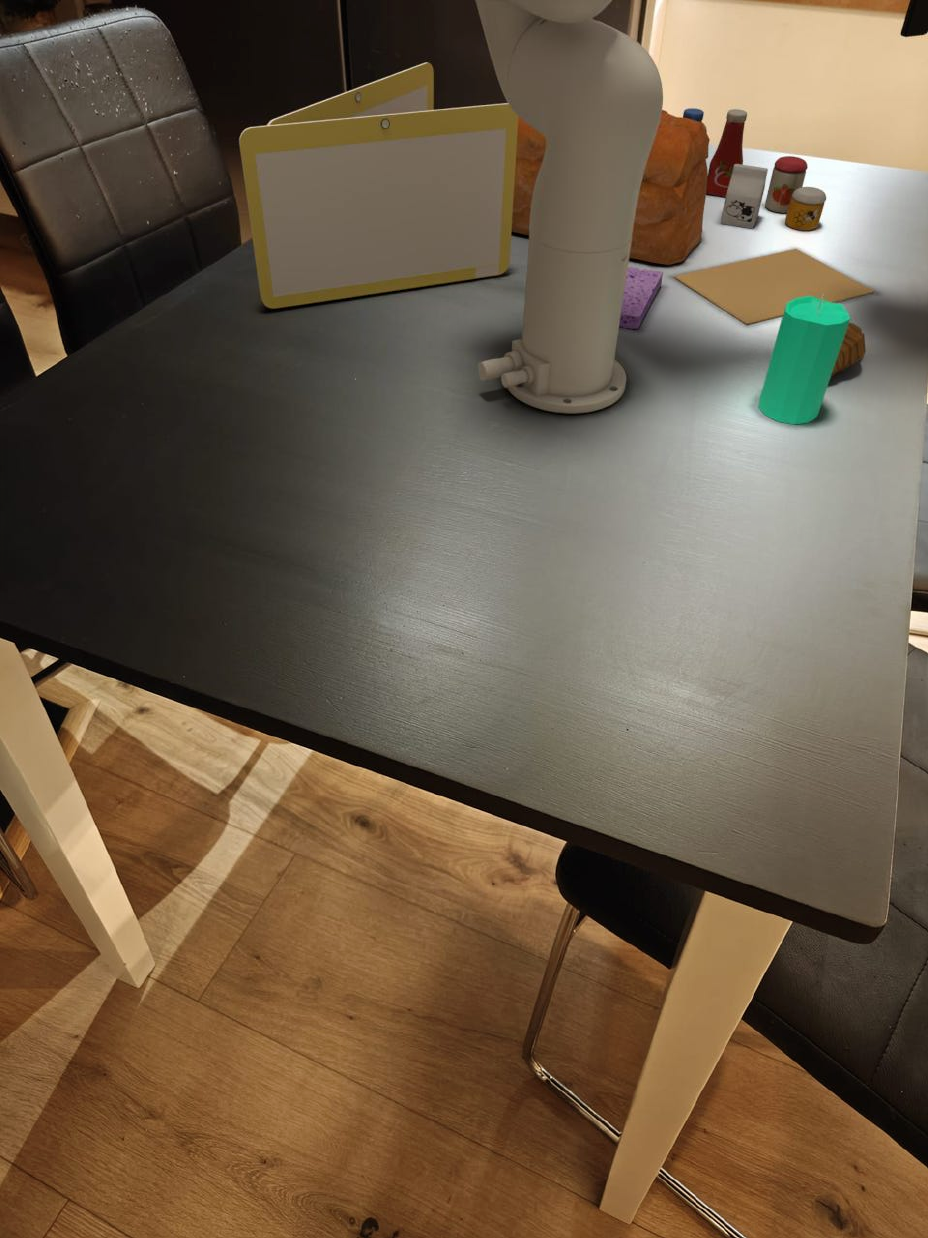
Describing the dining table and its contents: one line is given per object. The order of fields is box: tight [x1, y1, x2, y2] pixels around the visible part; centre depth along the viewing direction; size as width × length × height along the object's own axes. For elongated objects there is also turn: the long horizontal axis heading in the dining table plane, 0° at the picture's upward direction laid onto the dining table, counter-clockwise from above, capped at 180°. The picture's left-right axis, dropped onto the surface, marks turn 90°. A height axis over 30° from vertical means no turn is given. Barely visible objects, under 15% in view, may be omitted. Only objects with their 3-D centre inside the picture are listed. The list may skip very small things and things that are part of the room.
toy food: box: [662, 107, 827, 231], centre depth 126 cm, size 27×13×12 cm, turn 67°
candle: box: [757, 294, 851, 425], centre depth 87 cm, size 6×6×12 cm
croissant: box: [830, 322, 867, 379], centre depth 96 cm, size 14×7×5 cm, turn 141°
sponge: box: [619, 266, 664, 330], centre depth 107 cm, size 7×13×2 cm, turn 159°
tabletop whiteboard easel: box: [238, 61, 518, 310], centre depth 105 cm, size 35×22×20 cm, turn 149°
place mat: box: [673, 248, 875, 326], centre depth 112 cm, size 20×14×1 cm
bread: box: [511, 112, 711, 266], centre depth 118 cm, size 14×27×15 cm, turn 63°
